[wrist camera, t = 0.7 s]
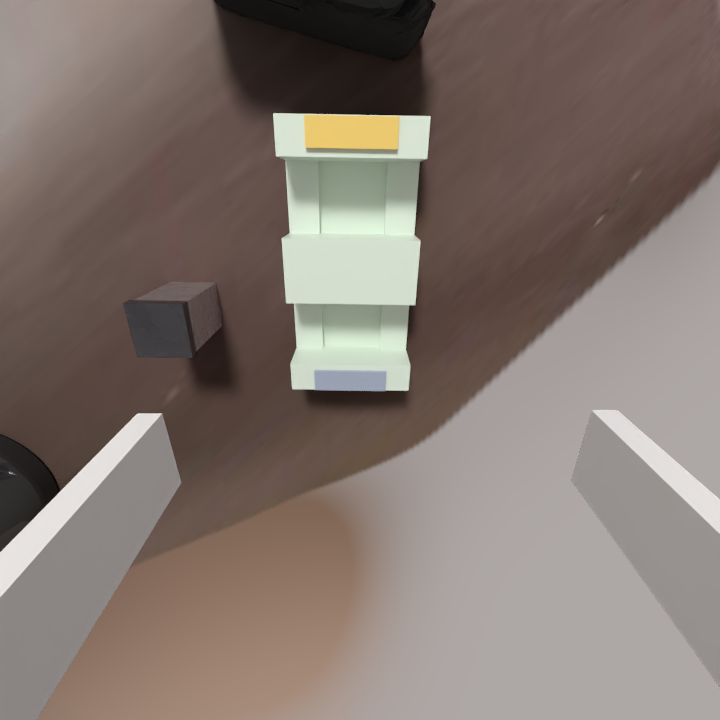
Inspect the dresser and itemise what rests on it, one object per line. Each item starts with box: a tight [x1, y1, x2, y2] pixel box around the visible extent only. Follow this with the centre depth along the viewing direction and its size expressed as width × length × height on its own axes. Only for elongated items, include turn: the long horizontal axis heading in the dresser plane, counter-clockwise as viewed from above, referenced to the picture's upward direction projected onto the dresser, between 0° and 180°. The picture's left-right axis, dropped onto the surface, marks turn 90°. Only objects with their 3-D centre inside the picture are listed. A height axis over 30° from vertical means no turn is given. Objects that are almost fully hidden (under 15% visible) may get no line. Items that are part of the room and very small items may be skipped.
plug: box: [123, 282, 222, 358], centre depth 30 cm, size 4×4×7 cm
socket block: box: [273, 113, 431, 391], centre depth 30 cm, size 10×20×5 cm, turn 179°
